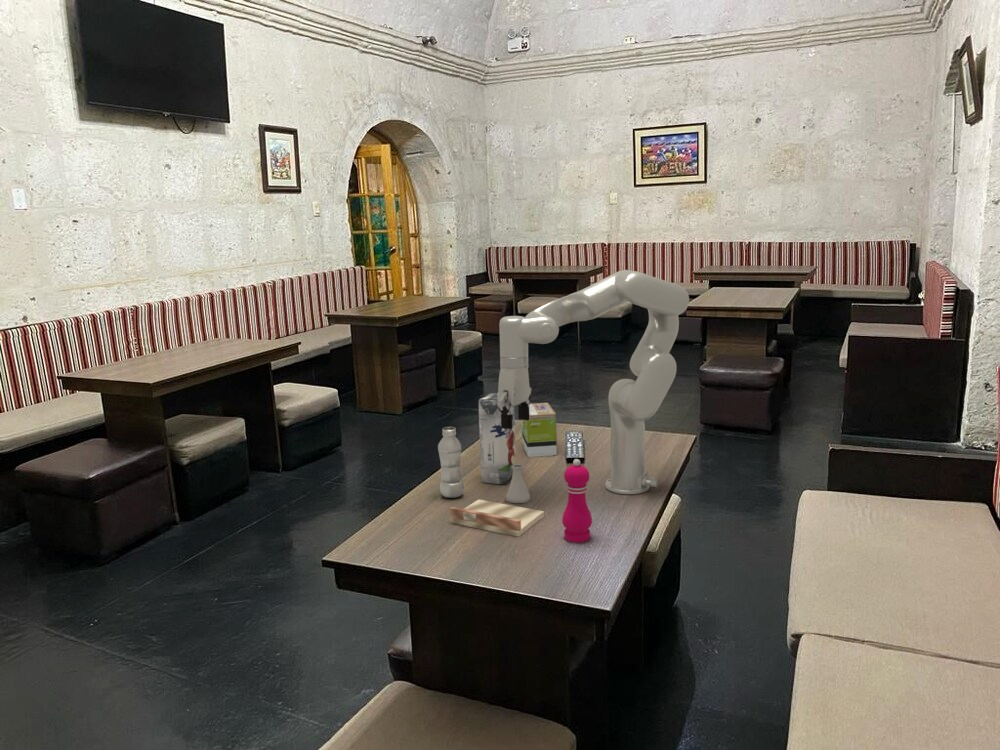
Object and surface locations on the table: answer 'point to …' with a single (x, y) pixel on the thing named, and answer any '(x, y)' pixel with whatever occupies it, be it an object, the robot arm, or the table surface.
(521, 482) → the flask
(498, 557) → the table surface
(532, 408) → the tea box
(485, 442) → the juice carton
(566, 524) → the pepper mill
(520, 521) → the shelf board
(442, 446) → the plastic bottle
